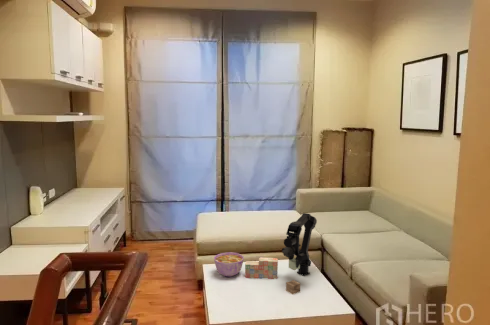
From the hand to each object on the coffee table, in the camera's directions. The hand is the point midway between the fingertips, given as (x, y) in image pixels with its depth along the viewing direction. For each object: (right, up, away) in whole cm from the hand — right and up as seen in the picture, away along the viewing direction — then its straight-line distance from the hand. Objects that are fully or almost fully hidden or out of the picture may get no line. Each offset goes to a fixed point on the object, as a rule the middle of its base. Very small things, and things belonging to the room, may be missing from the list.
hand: (294, 266), depth 243 cm
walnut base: (-2, -11, -12) cm, 17 cm away
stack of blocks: (-21, -10, +9) cm, 25 cm away
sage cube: (0, -1, 0) cm, 1 cm away
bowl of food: (-42, -9, +13) cm, 45 cm away
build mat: (-3, -12, -13) cm, 18 cm away
